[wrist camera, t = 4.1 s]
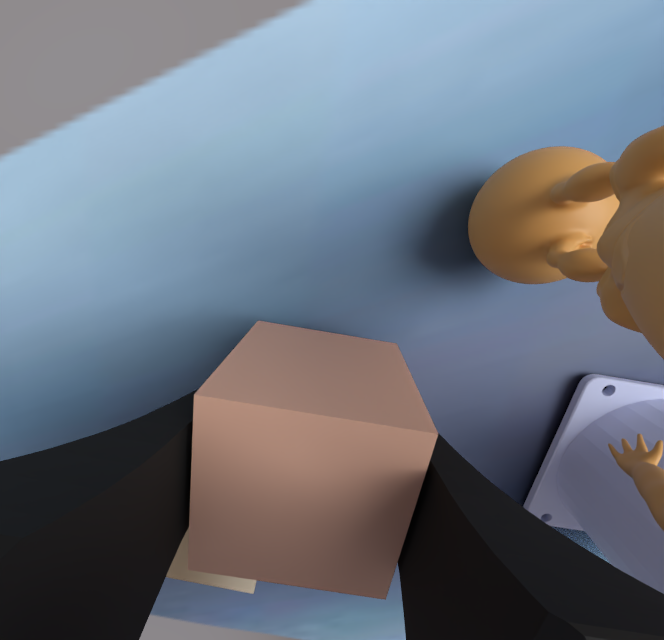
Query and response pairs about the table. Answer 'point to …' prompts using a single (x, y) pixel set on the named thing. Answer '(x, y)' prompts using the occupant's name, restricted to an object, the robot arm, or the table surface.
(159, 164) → the table surface
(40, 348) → the table surface
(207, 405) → the terracotta cube
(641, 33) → the table surface
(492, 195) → the figurine
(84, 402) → the table surface
